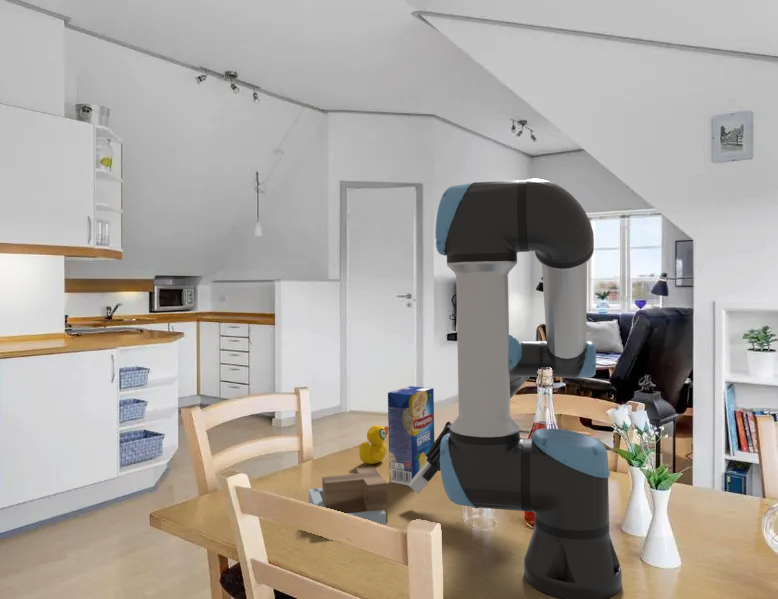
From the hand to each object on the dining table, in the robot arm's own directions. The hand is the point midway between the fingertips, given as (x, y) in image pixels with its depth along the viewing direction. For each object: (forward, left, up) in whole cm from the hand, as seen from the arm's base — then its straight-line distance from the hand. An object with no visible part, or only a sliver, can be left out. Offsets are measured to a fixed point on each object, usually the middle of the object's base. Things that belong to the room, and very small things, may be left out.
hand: (413, 489), depth 131 cm
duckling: (+35, +1, -4) cm, 35 cm away
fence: (0, +15, -4) cm, 15 cm away
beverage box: (+19, -5, -4) cm, 20 cm away
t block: (-1, +13, -4) cm, 14 cm away
